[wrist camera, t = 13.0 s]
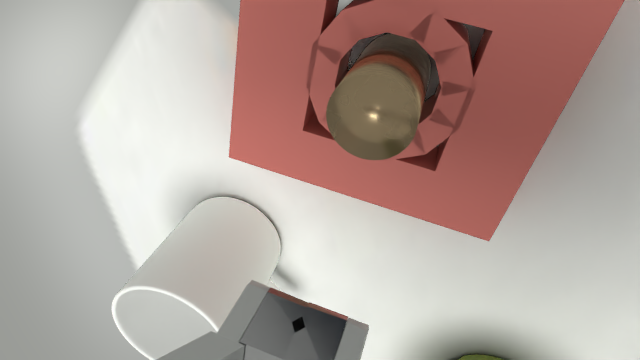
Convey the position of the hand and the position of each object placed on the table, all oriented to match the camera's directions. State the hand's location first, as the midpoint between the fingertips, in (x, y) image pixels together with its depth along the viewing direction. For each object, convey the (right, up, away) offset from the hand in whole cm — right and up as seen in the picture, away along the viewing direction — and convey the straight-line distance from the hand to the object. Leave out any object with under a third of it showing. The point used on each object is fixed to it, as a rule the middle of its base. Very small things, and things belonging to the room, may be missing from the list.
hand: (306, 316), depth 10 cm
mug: (-5, -2, +26) cm, 27 cm away
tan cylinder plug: (+5, +10, +15) cm, 18 cm away
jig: (+5, +10, +15) cm, 18 cm away
